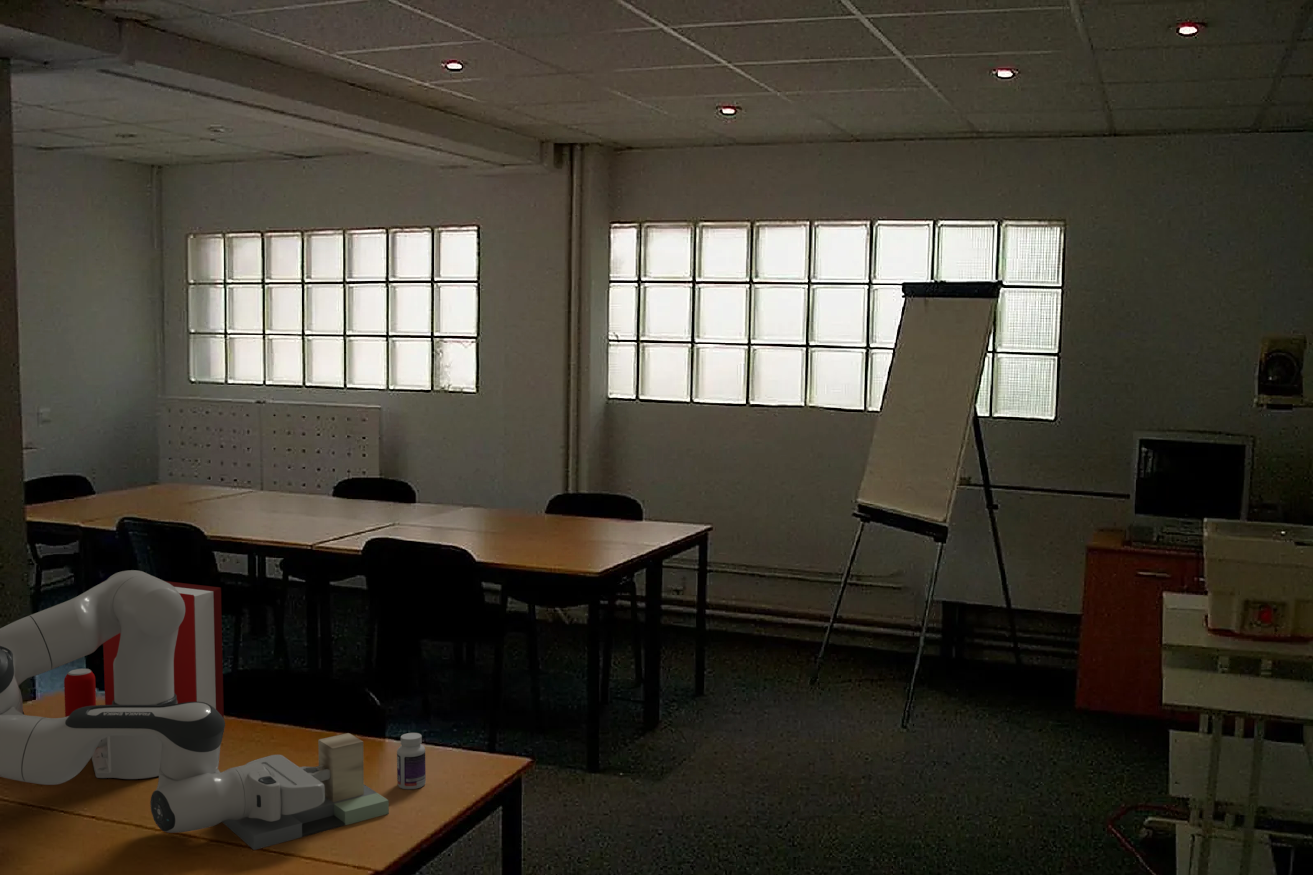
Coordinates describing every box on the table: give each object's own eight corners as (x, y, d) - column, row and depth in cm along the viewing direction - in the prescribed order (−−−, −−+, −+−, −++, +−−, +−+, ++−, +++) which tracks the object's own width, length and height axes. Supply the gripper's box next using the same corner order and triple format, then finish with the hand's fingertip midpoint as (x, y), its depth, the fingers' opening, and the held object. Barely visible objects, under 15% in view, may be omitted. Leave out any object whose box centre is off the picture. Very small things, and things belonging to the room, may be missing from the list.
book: (223, 732, 262) (220, 587, 260) (196, 743, 255) (193, 594, 252) (129, 715, 273) (125, 576, 270) (101, 726, 265) (96, 583, 263)
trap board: (219, 820, 215) (219, 806, 215) (349, 787, 231) (349, 775, 231) (254, 850, 203) (253, 835, 203) (388, 813, 219) (388, 800, 219)
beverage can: (101, 724, 266) (99, 671, 265) (72, 730, 262) (70, 677, 261) (90, 718, 271) (88, 665, 270) (61, 724, 266) (59, 671, 265)
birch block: (319, 792, 222) (318, 739, 221) (349, 784, 226) (348, 733, 225) (333, 802, 217) (332, 748, 217) (363, 794, 221) (363, 741, 220)
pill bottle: (431, 782, 234) (431, 733, 233) (414, 792, 229) (414, 742, 228) (408, 778, 236) (408, 729, 236) (391, 787, 232) (391, 738, 231)
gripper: (230, 789, 218) (303, 772, 227) (275, 825, 202) (351, 805, 211) (230, 755, 218) (303, 739, 226) (274, 789, 202) (351, 770, 211)
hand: (327, 771), depth 219 cm, fingers closed
